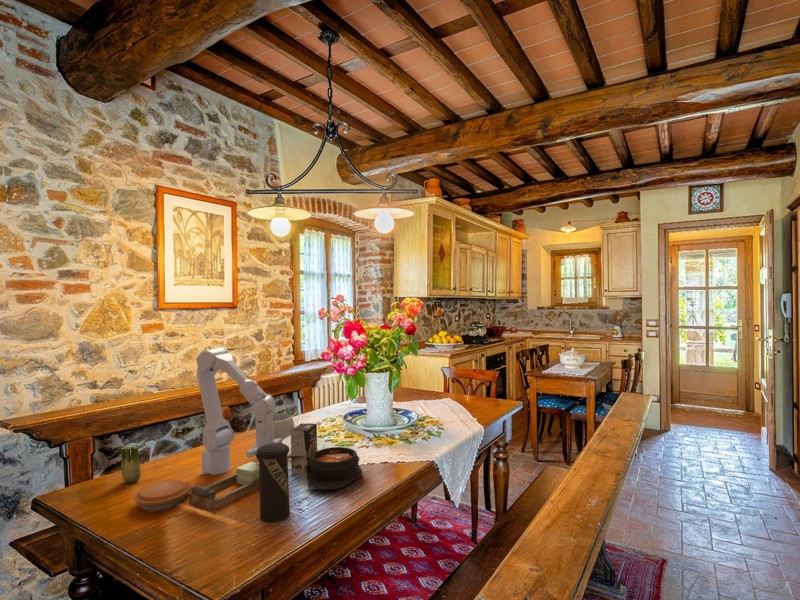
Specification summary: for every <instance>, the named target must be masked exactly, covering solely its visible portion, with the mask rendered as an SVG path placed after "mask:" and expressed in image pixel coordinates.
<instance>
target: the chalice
mask: <svg viewBox="0 0 800 600" xmlns="http://www.w3.org/2000/svg"><path fill="white" fill-rule="evenodd" d="M295 427H296V426H295V421H294V419H293V417H292V415H291V414H289V413H281V412H280V413H273V437H274V439H277V438H280V439H282V442H283V441H284V440H285V439H287V438H289V437H291V430H292V429H294V428H295ZM289 457H291V449H289V452H288V454H287V458H289Z"/></svg>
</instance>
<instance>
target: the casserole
mask: <svg viewBox="0 0 800 600" xmlns="http://www.w3.org/2000/svg"><path fill="white" fill-rule="evenodd" d="M359 462H360V457H359V455H358V453H357V451H356V450H354V449H352V448H349V447H343V446H342V447H341V446H336V447H335V446H334V447H326V448H323V449H319V450H317V452H315V453H314V454H313V455H312V458H311V460H310V461H309V465H310V466H311V470H310V471H309V472H308V474H307V475H306V478H307V481H308V482H307V486H308V487H309V488H312V489H315V490H321V491H322V490H323V491H324V490H327V491H328V490H329V491H330V490H338V489H341V488H344V487H345V486H347V485H349V484H350V483H351V482H353V481H355V480H357V479H358V478H360V477H361V476H362V474H363V470H362V468H361V466H360V465H359Z"/></svg>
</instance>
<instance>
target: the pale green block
mask: <svg viewBox="0 0 800 600" xmlns="http://www.w3.org/2000/svg"><path fill="white" fill-rule="evenodd" d="M235 472H236V473H237V478H236V481H237V482H236V484H238V485H242V486H244V485H246V484H248V483H250V482H252V481H254V480H256V479H258V478H260V477H259V463H257V462H253V461H249V462H247V463H244V464H242V465H240V466H238V467H236V470H235Z"/></svg>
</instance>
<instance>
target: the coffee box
mask: <svg viewBox="0 0 800 600" xmlns="http://www.w3.org/2000/svg"><path fill="white" fill-rule="evenodd" d="M317 426H318V425H317V423H307V422H306V423H303V422H302V423H299V424H298V425H296V426H295V428H294V429H292V430H291V435H290V450H291V456H290V458H291V460H290V463H291V464H290V465H291V468H290V469H291V474H292V475H303V476H304V475H306V476H307V474H308V472H309V471H310V470H311V466H310V465H309V461H310V460H311V458H312V455H313V454H314V453H315V452H317V451H318V427H317Z"/></svg>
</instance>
